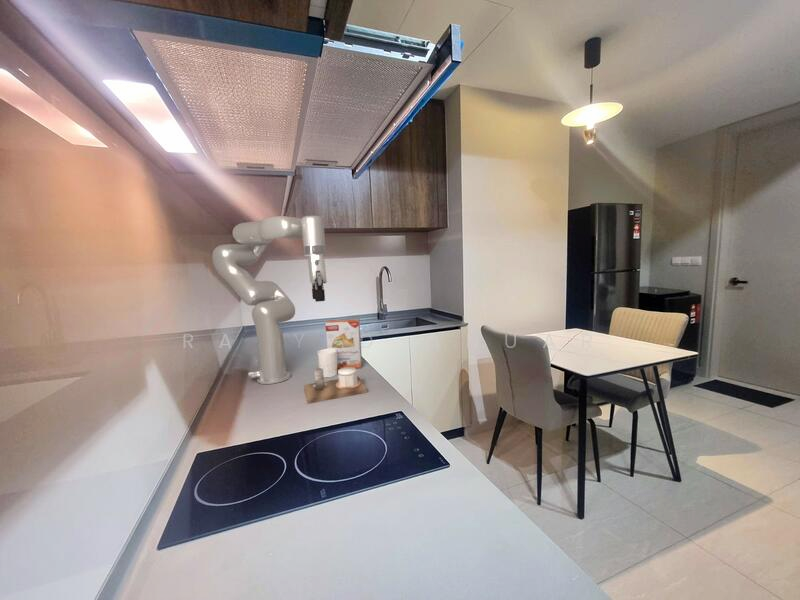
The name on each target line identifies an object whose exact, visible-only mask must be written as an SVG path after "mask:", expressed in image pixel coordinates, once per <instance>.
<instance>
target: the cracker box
mask: <svg viewBox="0 0 800 600" xmlns="http://www.w3.org/2000/svg"><path fill="white" fill-rule="evenodd" d="M325 337H326V349H336V350H337V370H339V369H341V368H345V367H354V368H357V369H361V368H362V365H363V360H362V359H363V358H362V357H363V356H362V340H361V323H360V318H355V319H354V318H353V319H352V318H351V319H329V320H327V321H326V322H325Z"/></svg>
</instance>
